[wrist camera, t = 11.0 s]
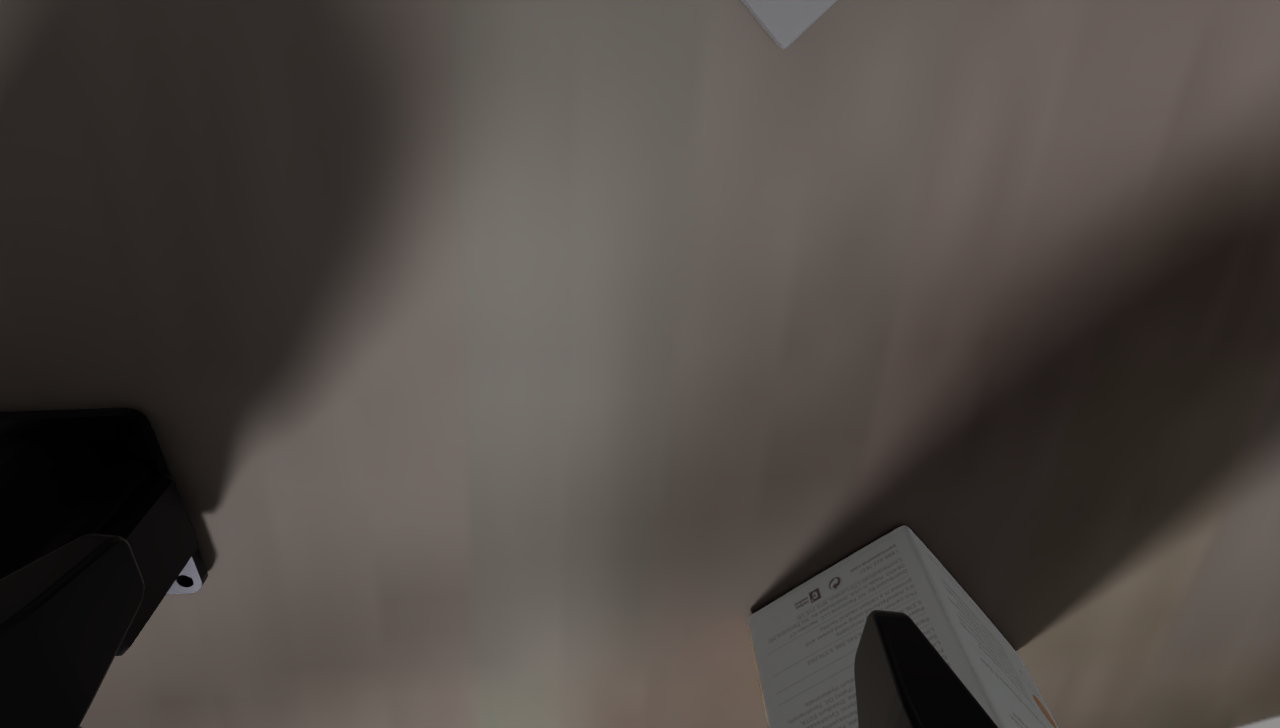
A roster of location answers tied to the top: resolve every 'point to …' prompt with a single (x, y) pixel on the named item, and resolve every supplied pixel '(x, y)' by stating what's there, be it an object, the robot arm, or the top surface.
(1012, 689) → the small box
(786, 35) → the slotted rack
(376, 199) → the top surface
